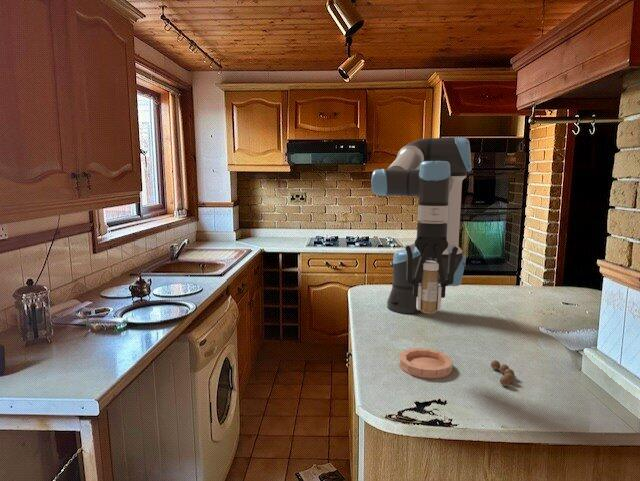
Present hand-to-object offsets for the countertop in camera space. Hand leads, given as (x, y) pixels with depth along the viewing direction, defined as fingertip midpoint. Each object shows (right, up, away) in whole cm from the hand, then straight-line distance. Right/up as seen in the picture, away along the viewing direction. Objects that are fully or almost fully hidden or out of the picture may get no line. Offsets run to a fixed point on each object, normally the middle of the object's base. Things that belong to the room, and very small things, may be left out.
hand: (428, 308), depth 113 cm
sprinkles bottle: (0, -1, 0) cm, 1 cm away
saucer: (0, -16, +2) cm, 16 cm away
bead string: (+19, -17, -3) cm, 26 cm away
